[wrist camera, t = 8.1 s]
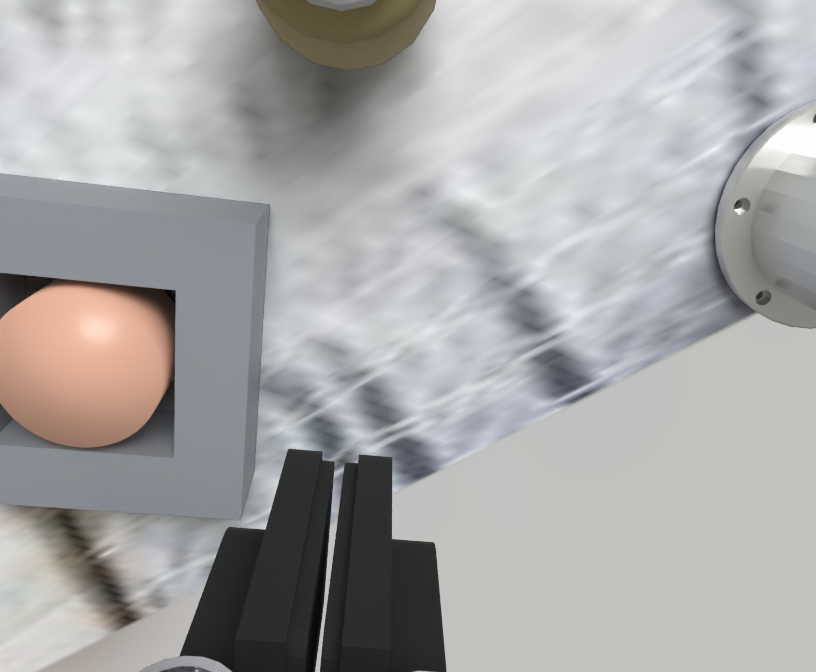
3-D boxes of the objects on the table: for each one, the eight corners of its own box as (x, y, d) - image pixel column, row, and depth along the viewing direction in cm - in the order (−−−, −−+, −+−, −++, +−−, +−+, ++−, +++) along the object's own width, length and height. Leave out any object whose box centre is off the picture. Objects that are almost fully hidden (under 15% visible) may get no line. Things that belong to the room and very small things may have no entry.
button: (187, 272, 36) (162, 302, 32) (185, 408, 39) (161, 453, 34) (28, 256, 36) (-22, 284, 31) (38, 395, 38) (-7, 440, 34)
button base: (269, 204, 36) (255, 224, 31) (254, 469, 41) (240, 520, 37) (-57, 167, 34) (-123, 182, 29) (-27, 448, 40) (-79, 498, 35)
